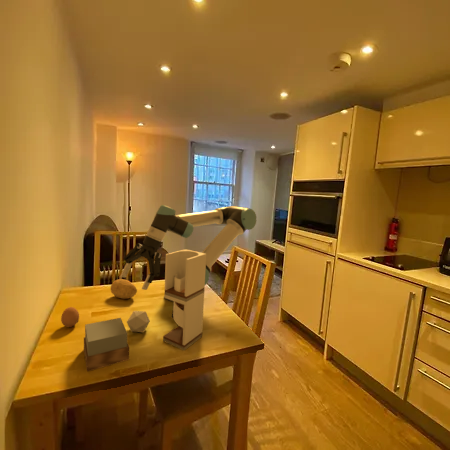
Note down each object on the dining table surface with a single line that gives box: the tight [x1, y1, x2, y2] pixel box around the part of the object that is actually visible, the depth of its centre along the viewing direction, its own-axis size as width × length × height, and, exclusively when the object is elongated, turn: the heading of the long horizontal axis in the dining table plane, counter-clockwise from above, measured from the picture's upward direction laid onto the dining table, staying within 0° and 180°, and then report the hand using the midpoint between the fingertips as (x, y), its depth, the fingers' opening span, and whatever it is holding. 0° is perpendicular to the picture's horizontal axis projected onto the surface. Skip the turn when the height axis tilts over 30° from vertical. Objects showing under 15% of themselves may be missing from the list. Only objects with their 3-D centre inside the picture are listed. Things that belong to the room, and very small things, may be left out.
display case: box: [162, 248, 206, 351], centre depth 103 cm, size 11×11×35 cm
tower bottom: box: [83, 336, 130, 372], centre depth 93 cm, size 13×13×5 cm
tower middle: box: [84, 317, 128, 356], centre depth 92 cm, size 12×12×5 cm
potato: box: [110, 278, 138, 300], centre depth 139 cm, size 10×14×10 cm
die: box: [126, 310, 151, 333], centre depth 109 cm, size 8×9×10 cm
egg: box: [60, 306, 80, 328], centre depth 109 cm, size 6×6×8 cm
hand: (133, 283), depth 114 cm, fingers open, 13 cm apart
